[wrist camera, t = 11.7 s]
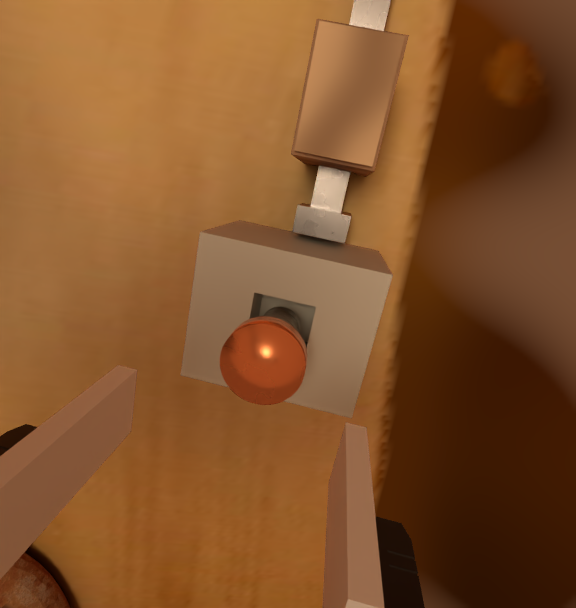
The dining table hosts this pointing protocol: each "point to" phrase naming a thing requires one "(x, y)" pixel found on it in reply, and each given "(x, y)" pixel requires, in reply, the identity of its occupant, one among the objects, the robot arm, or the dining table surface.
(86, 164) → the dining table surface
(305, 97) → the block
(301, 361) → the push button
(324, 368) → the knob base
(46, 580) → the bread
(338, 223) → the rail
